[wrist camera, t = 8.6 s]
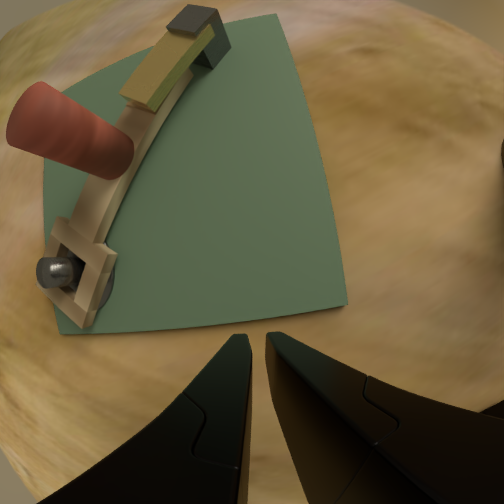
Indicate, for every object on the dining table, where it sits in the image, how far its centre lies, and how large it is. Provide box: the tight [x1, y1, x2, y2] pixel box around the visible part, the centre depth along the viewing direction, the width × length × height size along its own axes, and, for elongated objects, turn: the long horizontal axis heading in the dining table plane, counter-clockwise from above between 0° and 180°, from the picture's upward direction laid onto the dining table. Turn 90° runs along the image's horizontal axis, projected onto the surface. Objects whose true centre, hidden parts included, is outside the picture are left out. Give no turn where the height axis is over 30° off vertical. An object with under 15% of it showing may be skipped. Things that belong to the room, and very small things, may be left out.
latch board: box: [43, 14, 348, 334], centre depth 18 cm, size 22×22×1 cm
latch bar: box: [6, 67, 194, 329], centre depth 13 cm, size 19×6×9 cm, turn 152°
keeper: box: [118, 4, 232, 112], centre depth 16 cm, size 8×3×5 cm, turn 149°
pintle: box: [36, 240, 115, 310], centre depth 17 cm, size 6×6×5 cm
